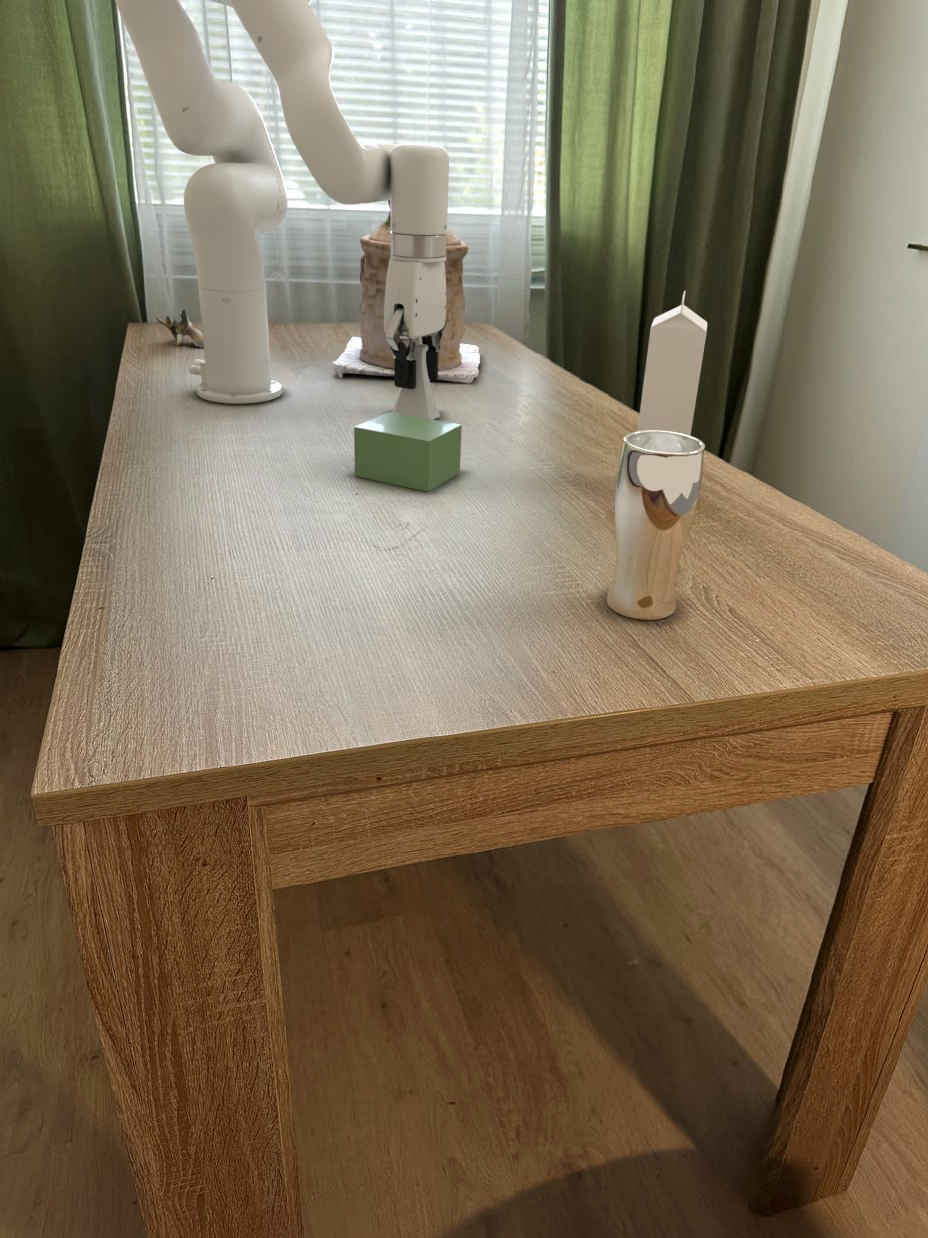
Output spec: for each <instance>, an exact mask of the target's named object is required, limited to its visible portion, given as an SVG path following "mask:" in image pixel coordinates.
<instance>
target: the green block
mask: <svg viewBox="0 0 928 1238" xmlns="http://www.w3.org/2000/svg"><path fill="white" fill-rule="evenodd" d="M462 427H463V426H462V424H459V423H453V422H448V421H442V420H436V419H433V420H432V419H426V418H421V417H415V416H410V415H404V414H399V413H393V412H392V411H388V412H386V413H383V414H381V415H378V416H377V417H374V418H372V419H369V420H367V421H364V422H362V423H360V424H358V425H355V426H354V427H353V432H354V433H353V438H354V439H353V440H354V441H353V446H354V451H353V452H354V477H357V478H361V479H362V478H363V479H365V480H371V481H376V482H381V483H384V484H389V485H394V486H399V487H404V488H408V489H413V490H417V491H422V492H426V493H429V492H431V491H432V490H434V489H435V488H438V487H439V486H440V485H442V484H444V483H445V482H447V481H449V480H451V479H453V478H454V477H456V476H457V475H459V474H460V473H461V455H462V454H461V453H462V429H463V428H462Z"/></svg>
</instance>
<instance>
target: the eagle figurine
mask: <svg viewBox="0 0 928 1238" xmlns="http://www.w3.org/2000/svg"><path fill="white" fill-rule="evenodd" d="M179 312H180V313H179V314H180V318H181V320H180V321H179V322H178V320H177V318H175V317H173V322H172V320H171V318H170V316H169V315H167V316H166V317H165V321H163V320H162V319H160V318H159V317H158V316H155V320H156V321H157V322H158V323H159V324H161V325H163V326H165V327H166V328H167V329H168V331H169V332H171V335H172V336H173V338H174V340H175V341H176V344H175V345H176V346H179V344H181V343H182V342H183V339H184V337H185V336H189V337H190V338H191V340H192V341H193V345H195V347H197V348H203V349H204V344H203V333H202V331H201V330H198V329H197V328H194V327H193V325H192V323H191V321H190V316H189V314H188V312H187V310H186V308H183V309H182V310H181V311H179Z"/></svg>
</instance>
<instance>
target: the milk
mask: <svg viewBox="0 0 928 1238" xmlns="http://www.w3.org/2000/svg"><path fill="white" fill-rule="evenodd" d="M681 298H682V299H681V304H680V305H678V306H677V307H674V308H672V309H670V310H668V311H665V312H664V313H661V314H660V315H657V316H655V317H654V318H653V321H652V323H651V326H650V332H649V338H648V346H647V354H646V362H645V369H644V377H643V385H642V391H641V393H642V394H641V401H640V408H639V416H638V423H637V431H643V430H662V431H672V432H678V433H682V434H686V435H690V436H692V434H691V433H692V428H693V422H694V415H695V409H696V401H697V397H698V395H697V394H698V390H699V389H698V388H699V383H700V377H701V370H702V363H703V359H704V358H703V357H704V351H705V345H706V338H707V332H708V331H707V330H708V322H707V321H706V320H705V319H704V318H702V316H700V315H698V314H697V313H696V312H694V311H693V310H692V309H690V308H689V307H688V306H686V305H685V298H686V290H684V291H683V294H682V297H681Z"/></svg>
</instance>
